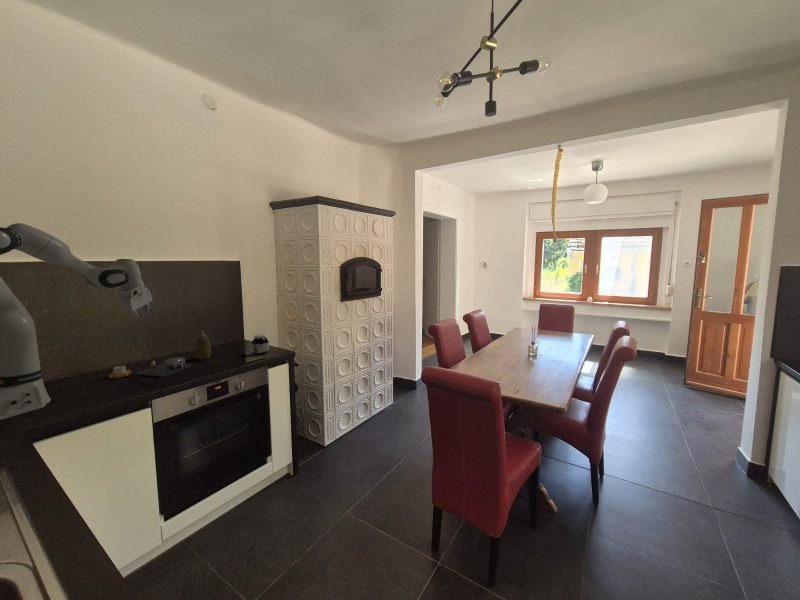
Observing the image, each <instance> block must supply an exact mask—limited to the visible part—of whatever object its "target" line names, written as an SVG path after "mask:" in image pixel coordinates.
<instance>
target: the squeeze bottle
mask: <svg viewBox="0 0 800 600" xmlns="http://www.w3.org/2000/svg"><path fill="white" fill-rule="evenodd" d="M195 343H196V344H195V355H196V357H197V359H198V360H201V361H203V360H204V359H205V360H208V359H210V358H211V354H212V349H211V343H210V338H208V335H207V334H205V331H204V329H202V328H201V329H200V334H199V335H197V339H196V342H195Z"/></svg>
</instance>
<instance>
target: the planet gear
mask: <svg viewBox="0 0 800 600" xmlns="http://www.w3.org/2000/svg"><path fill="white" fill-rule="evenodd" d="M131 373H132V371H131V370H130V369H127V368H126V365H118V366H114V367H113V368H112V372H111V373H108V378H109V379H110V378H112V379H121V378H124V376H127V377H128V376H129V374H130V375H132V374H131ZM120 377H121V378H120Z"/></svg>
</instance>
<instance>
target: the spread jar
mask: <svg viewBox="0 0 800 600" xmlns="http://www.w3.org/2000/svg"><path fill="white" fill-rule="evenodd" d="M269 350H270V343H269V340H268V338H267V337H266V334H262V333H261V334H255V335H254V336H253V339H252V341H251V343H249V344H248V345H247V348H246V356H247V355H248V356H250V355H252V354H254V355H256V354H257V355H259V356H260V355H265V354H267V353H268V352H269Z"/></svg>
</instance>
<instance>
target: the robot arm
mask: <svg viewBox="0 0 800 600" xmlns="http://www.w3.org/2000/svg"><path fill="white" fill-rule="evenodd" d="M13 250H14V251H15V250H16V251H19V252H22V253H24V254H26V255H29V256H30V257H33V258H35V259H38V260H40V261H43V262H46V263H49V264H51V265H52V264H53V265H57V266H60V267H63V268H65V269H68V270H69V271H71V272H74V273H76V274H78V275H80V276H82V277H83V278H84V279H85V280H86V281H87V282H88V283H89V284H90V285H91V286H94V287H96V288H105V289H115V288H118V287H120V286H121V287H122V288H121V289H120V290H119V292H118V293H117V297H118V298H119V301H120V305H121V307H122V311H124V312H125V313H130V314H131V315H132V316H133V318H134V319H138V318H140V314H139V313H138V312H137V310H138V309H140V308H141V307H144V308H143V312H144V313H149V312H150V303H152V302H153V296H152V294H151V291H150V290H149V289H148V287H147V286H145V283H144V281H143V279H142V273H141V269H140V267H139V265H138V263H137V261H136V260H134V259H131V258H118V259H116V260H114V262H113V263H111V264H110V265H107V266H106V267H102V266H95V265H92V264H90V263H89V262H87V261H84V259H80V258H78V257H77V256H75V255H74V254H73V253H72V252H71V248H70V246H69V245H68V244H66V243H65V242H63V241H62V240H61V239H59V238H57V237H56V236H53V235H52V234H50V233H48V232H46V231H44V230H41V229H39V228H37V227H33V226H31V225H28V224H26V223H21V222H18V223H17V222H16V223H12V224H10V225H8V226H7V227H1V226H0V256H2V255H5V254H7V253H9V252H11V251H13ZM38 348H39V347H38V340H37V334H36V325H35V321H34V318H33V317H32V316H31V314H30V313H29V312H28V310H27V309H26V308H25V307H24V305H23V304H22V302H21V301H20V300H19V299H18V297H17V296H16V295H15V294H14V293H13V291H12V289H10V288H9V286H8V284H7V283H6V282H5V281H4V280H3V278H2V276H1V275H0V421H1V420H5V419H9V418H12V417H15V416H18V415H21V414H25V413H29V412H32V411H36V410H39V409H42V408H44V407H46V405H47V404H49V403H50V402H51V401H52V399H51V397H50V396H49V394H48V392H47V390H46V386H45V383H44V370H43V368H41V363H40V355H39V349H38Z"/></svg>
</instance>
